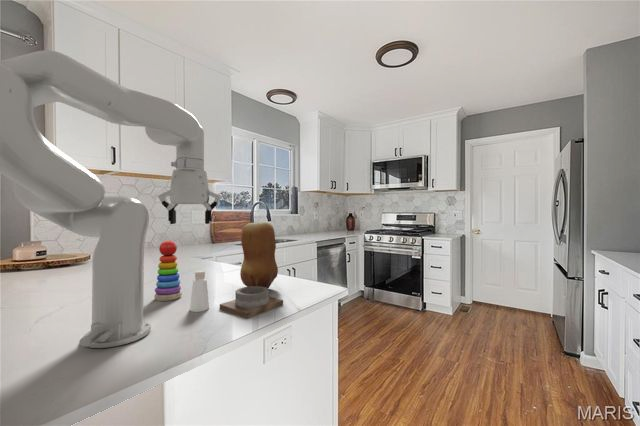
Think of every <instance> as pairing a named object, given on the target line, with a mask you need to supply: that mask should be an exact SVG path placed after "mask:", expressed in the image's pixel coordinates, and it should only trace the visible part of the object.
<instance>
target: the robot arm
mask: <svg viewBox="0 0 640 426" xmlns="http://www.w3.org/2000/svg"><path fill="white" fill-rule="evenodd" d="M51 103H52V104H53V103H61V104H64V105H67V106H68V107H69V106H70V107H72V108H74V109H77V110H79V111H82V112H84V113H87V114H89V115H91V116H94V117H97V118H99V119H102V120H103V121H105V122H108V123H111V124H116V125H120V126H127V127H144V131H145V134H146V136H147V137H148V138H149V139H150V141H152V142H153V143H155V144H158V145H162V146H172V147H173V146H174V147H175V148H176V151H175V152H176V153H175V155H176V157H175V161H171V162H170V166H171V167H174V168H175V169H173V170H172V172H171V173H172V175H171V180H170V189H169V190H167V191H165V192H162V193H160V194H159V195H158V196H157V197H158V199H159V201H160V203H161V205H162V206H163V207H165V209H166V210H167V211H168V216H167V217H168V222H169V224H170V225H175V224H177V210H176V207H177V206H179V205H202V206H204V208H205V209H206V210H205V211H204V221H205V222H204V224H206V225H209V224H210V223H211V222H212V220H213V219H212V218H213V217H212V216H213V215H212V212H213V210H214V209H215V208H216V207H217V206H218V204H219V202H220V201H221V198H222V196H221V195H219V194H217V193H215V192H213V191H211V190H209V188H210V187H209V180H208V175H207V171H206V170H205V131H204V128H203V127H202V126H201V125H200V123H199V121H198V120H197V118H196V117H195V116H194V115H193V114H192V113H190V112H189V111H187V110H186V109H185V108H183V107H181V106H180V105H178V104H176V103H173V102H171V101H169V100H166V99H165V98H161V97H158V96H154V95H150V94H148V93H143V92H141V91H138V90H133V89H130V88H127V87H125V86H123V85H121V84H119V83H117V82H116V81H114V80H112V79H110V78H108V77H106V76H105V75H103V74H101V73H99V72H97V71H95V70H94V69H92V68H90V67H89V66H87V65H86V64H83V63H81V62H79V61H77V60H76V59H74V58H72V57H70V56H68V55H66V54H64V53H62V52H58V51H57V50H56V51H55V50H49V49H48V50H47V49H46V50H38V51H34V52H31V53H26V54H23V55H17V56H15V57H11V58H7V59H2V60H0V174H1V175H2V176H3V177H5V178H7V179H8V180H10V181H12V182H13V188H12V189H13V193H14V196H15V197H16V199H17V201H18V202H19V203H20V204H21V205H22V206H23V207H25V208H26V210H29V211H30V212H32V213H34V214H36V215H38V216H40V217H42V218H44V219H45V220H47V221H49V222H51V223H54V224H55V225H57V226H59V227H61V228H64V229H65V230H68V231H70V233H71V232H72V233H74V234H77V235H79V236H82V237H85V238H86V237H87V238H98V241H97V243H96V245H95V248H94V251H93V254H92V261H91V262H92V263H91V269H92V271H91V272H92V273H91V275H92V276H91V277H92V279H91V281H92V282H91V283H92V285H91V287H92V288H91V289H92V290H91V293H92V294H91V295H92V296H91V310H92V311H91V325H90V331H88V332H87V333H85V334H84V335H83V336H82V338H80V339H79V344H80V346H82V347H85V348H86V347H87V348H91V349H106V348H113V347H119V346H123V345H127V344H130V343H133V342H135V341H138V340H140V339H142V338H144V337H145V336H147V335H148V334H149V333H150V332H151V328H152V325H151V324H150V322H148V321H145V320H144V285H145V283H144V277H145V274H144V273H145V272H144V270H145V267H144V261H145V259H144V255H145V243H146V237H147V232H148V229H149V224H150V216H149V211H148V209H147V207H146V205H144V203H143V202H141V201H139V200H138V199H136V198H133V197H130V196H122V195H121V196H120V195H119V196H118V195H117V196H116V195H115V196H106V188H105V186H104V184H103V182H102V181H101V180H100V178H99V177H98V176H96V174H94V173H93V172H92V171H90V170H88V169H87V168H86V167H84V166H83V165H81V164H80V163H78V161H76V160H74V159H73V158H72V157H70V156H69V155H68V154H65V152H63V151H61V150H60V149H59V148H58V147H57V146H55V145H54V144H52V143H51V142H50V141H49V140H48V139H47V138H46V137H45V136H44V135H43V134H42V133H41V131H40V130H39V128H38V126H37V123H36V120H35V117H34V116H35V115H34V109H33V108H36V107H38V106H42V105H47V104H51ZM210 196H211V197H212V198H214V200H213V202H212V203H209V201H210ZM168 197H169V201H170V202H168V201H167V199H166V198H168Z"/></svg>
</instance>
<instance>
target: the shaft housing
mask: <svg viewBox="0 0 640 426" xmlns="http://www.w3.org/2000/svg"><path fill="white" fill-rule="evenodd" d="M269 292H270V288H266V287H261V286H250V287H247V286H243V287H240V288H237V289H236V290H235V295H234V296H235V299H233V300H229V301H225V302H222V303H219V310H221V311H224V312H226V313H230V314H232V315H236V316H239V317H242V318H246V319H249V318H252V317H255V316H257V315H261V314H262V313H265V312H268V311H271V310H273V309H276V308H278V307H279V308H280V307H282V306H283V305H284V300H283V299H280V298H276V297H274V296H273V297H272V296H269V295H270V293H269Z"/></svg>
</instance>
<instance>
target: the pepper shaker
mask: <svg viewBox="0 0 640 426" xmlns="http://www.w3.org/2000/svg"><path fill="white" fill-rule="evenodd" d="M205 277H206V271H204V270H196V271H195V272H194V280H192V287H191V289H192V290H191V296H190V304H189V309H190V310H189V311H190V312H194V313H200V312H205V311H207V310H209V309H210V305H209V304H210V303H209V291H208V282H207V279H206V278H205Z"/></svg>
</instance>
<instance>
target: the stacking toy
mask: <svg viewBox="0 0 640 426" xmlns="http://www.w3.org/2000/svg"><path fill="white" fill-rule="evenodd" d="M158 248H159V249H158V250H159V253H160V254H161V256H160V257H159V264H158V270H157V274H158V275H157V277H156V279H157V281H156V283H155V285H156V288H155V290H154V292H155V295H153V296H154V300H156V301H158V302H167V301H169V302H170V301H174V300H177V299H179V298H180V297H181V296H182V295H183V292H182V291H181V289H182V287H181V285H180V284H181V279H180V274H179V267H177V266H178V262H177V260H178V258H177V255H175V253H176V252H177V249H178V248H177V244H176V243H175V242H174V241H172V240H165V241H163V242H161V244H160V245H159V247H158Z"/></svg>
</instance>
